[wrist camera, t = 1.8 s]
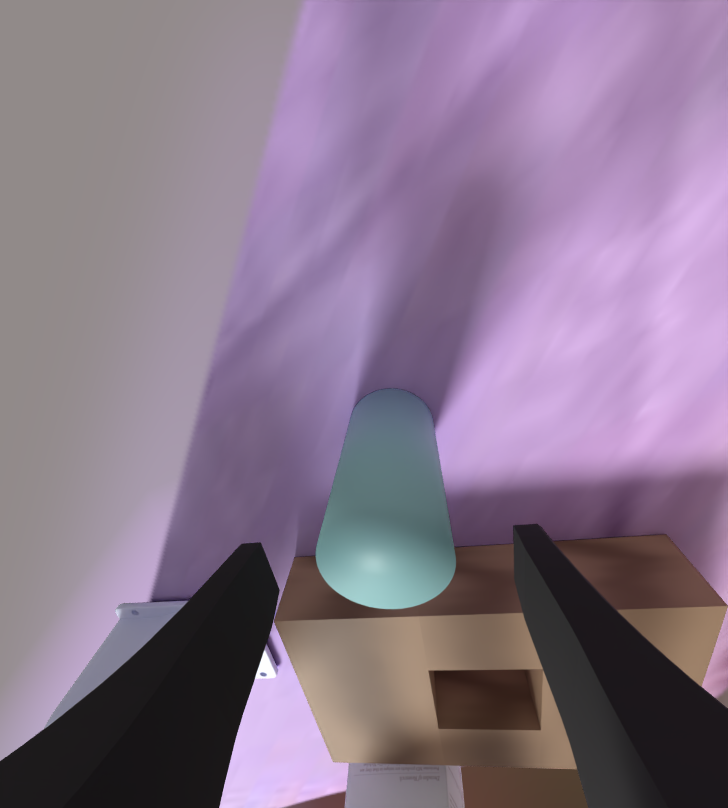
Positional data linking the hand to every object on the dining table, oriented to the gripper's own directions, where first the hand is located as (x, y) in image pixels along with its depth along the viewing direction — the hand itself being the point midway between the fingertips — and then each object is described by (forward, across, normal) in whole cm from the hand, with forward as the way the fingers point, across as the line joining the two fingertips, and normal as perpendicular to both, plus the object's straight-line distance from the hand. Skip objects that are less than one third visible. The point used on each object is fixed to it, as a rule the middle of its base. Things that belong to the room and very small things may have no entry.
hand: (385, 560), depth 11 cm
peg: (+8, 0, 0) cm, 8 cm away
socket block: (+8, -3, +15) cm, 17 cm away
